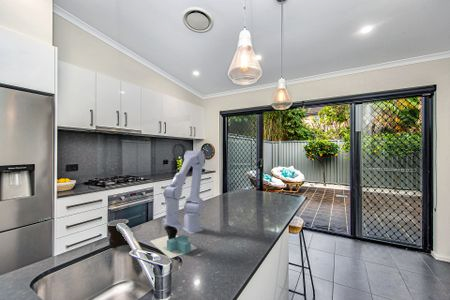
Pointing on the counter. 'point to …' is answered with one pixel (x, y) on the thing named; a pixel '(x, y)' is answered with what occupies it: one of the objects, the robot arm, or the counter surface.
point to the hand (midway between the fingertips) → (171, 241)
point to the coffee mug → (116, 233)
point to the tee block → (179, 244)
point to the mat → (162, 245)
